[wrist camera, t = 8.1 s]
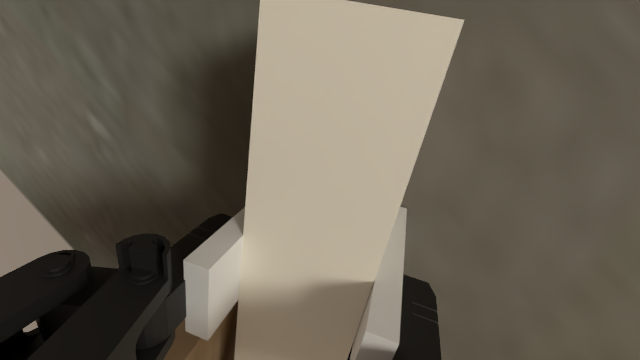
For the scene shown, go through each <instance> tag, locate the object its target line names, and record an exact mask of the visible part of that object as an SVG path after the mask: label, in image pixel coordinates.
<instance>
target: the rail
mask: <svg viewBox="0 0 640 360" xmlns="http://www.w3.org/2000/svg"><path fill="white" fill-rule="evenodd" d="M463 22H464V20H461V19H455V18H449V17H443V16H437V15H431V14H425V13H419V12H413V11H407V10H401V9H395V8H389V7H383V6H377V5H371V4H365V3H359V2H353V1H347V0H260V10H259V23H258V37H257V51H256V65H255V79H254V92H253V106H252V120H251V134H250V148H249V161H248V175H247V189H246V203H245V217H244V230H243V246H242V259H241V273H240V287H239V299H238V313H237V327H236V341H235V355H234V360H347V359H348V356H349V353H350V350H351V347H352V344H353V341H354V338H355V336H356V333H357V330H358V327H359V324H360V321H361V318H362V315H363V312H364V309H365V307H366V304H367V301H368V298H369V295H370V292H371V289H372V286H373V283H374V280H375V278H376V275H377V272H378V269H379V266H380V263H381V260H382V257H383V254H384V251H385V249H386V246H387V243H388V240H389V237H390V234H391V231H392V228H393V225H394V222H395V220H396V217H397V214H398V211H399V208H400V205H401V202H402V199H403V196H404V193H405V191H406V188H407V185H408V182H409V179H410V176H411V173H412V170H413V167H414V165H415V162H416V159H417V156H418V153H419V150H420V147H421V144H422V141H423V138H424V136H425V133H426V130H427V127H428V124H429V121H430V118H431V115H432V112H433V109H434V107H435V104H436V101H437V98H438V95H439V92H440V89H441V86H442V83H443V80H444V78H445V75H446V72H447V69H448V66H449V63H450V60H451V57H452V54H453V51H454V49H455V46H456V43H457V40H458V37H459V34H460V31H461V28H462V25H463Z"/></svg>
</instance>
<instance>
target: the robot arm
mask: <svg viewBox="0 0 640 360" xmlns="http://www.w3.org/2000/svg"><path fill="white" fill-rule="evenodd" d="M406 214H407V208H403V207H400V208H399V211H398V214H397V217H396V220H395V222H394V225H393V228H392V231H391V234H390V237H389V240H388V243H387V246H386V249H385V251H384V254H383V257H382V260H381V263H380V266H379V269H378V272H377V275H376V278H375V280H374V283H373V286H372V289H371V292H370V295H369V298H368V301H367V304H366V307H365V309H364V312H363V315H362V318H361V321H360V324H359V327H358V330H357V333H356V336H355V338H354V342H353V346H352V351H351V355H350V360H441V350H440V338H439V327H438V315H437V304H436V296H435V294H434V292H433V290H432V289H431V287H430V285H429V283H427V282H424V281H421V280H418V279H415V278H412V277H409V276H406V275H404V274H403V268H404V250H405V232H406ZM244 217H245V207H244V208H243V209H242V210H241V211H240V212H238V213H237V214H236V215H235V216H234V217H231V216H228V215H225V214H219V215H216V216H213V217H211V218H208V219H207V220H206V221H204V222H203V223H202V224H200V225H199V226H198V228H195V229H194V230H193V231H191V232H190V234H187V235H186V236H185V237H183V238H182V239H181V240H180V241H178V242H177V243H176V244H174V245H173V246H172V247H170V242H169V241H168V240H167V239H166V238H165V237H163V236H160V235H157V234H140V235H134V236H132V237H129V238H126V239H124V240H122V241H120V242H119V243H117V244H116V250H117V256H118V263H119V269H114V268H103V267H92V266H91V264H90V259H89V256H88V255H87V254H86V253H84V252H82V251H77V250H62V251H58V252H53V253H50V254H47V255H45V256H42V257H40V258H37V259H35V260H33V261H32V262H30V263H28V264H26V265H24V266H22V267H20V268H18V269H16V270H14V271H12V272H10V273H8V274H6V275H4V276H2V277H0V360H163V359H164V358H165V356H166V354H167V353H168V351H169V349H170V348H171V346H172V344H173V341H174V339H175V329H176V328H177V327H178V326H179V325H180V323H181V322H182V321H183V320H184V319H185V330H186V332H189V333H191V334H193V335H195V336H198V337H200V338H202V339H204V340H207V341H208V340H209V339H210V337H211V336H212V334H213V333H214V332H215V330H216V329H217V328H218V326H219V325H220V324H221V322H222V321H223V320H224V318H225V317H226V316H227V314H228V313H229V311H230V310H231V309H232V307H233V306H234V305H235V303H236V302H237V301H238V299H239V287H240V273H241V259H242V246H243V230H244ZM35 320H36V322H37V326H38V328H36V329H34V330H32V331H30V332H23V330H22V329H23V328H24V327H26V326H27V325H29V324H30V323H32V322H33V321H35Z"/></svg>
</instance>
